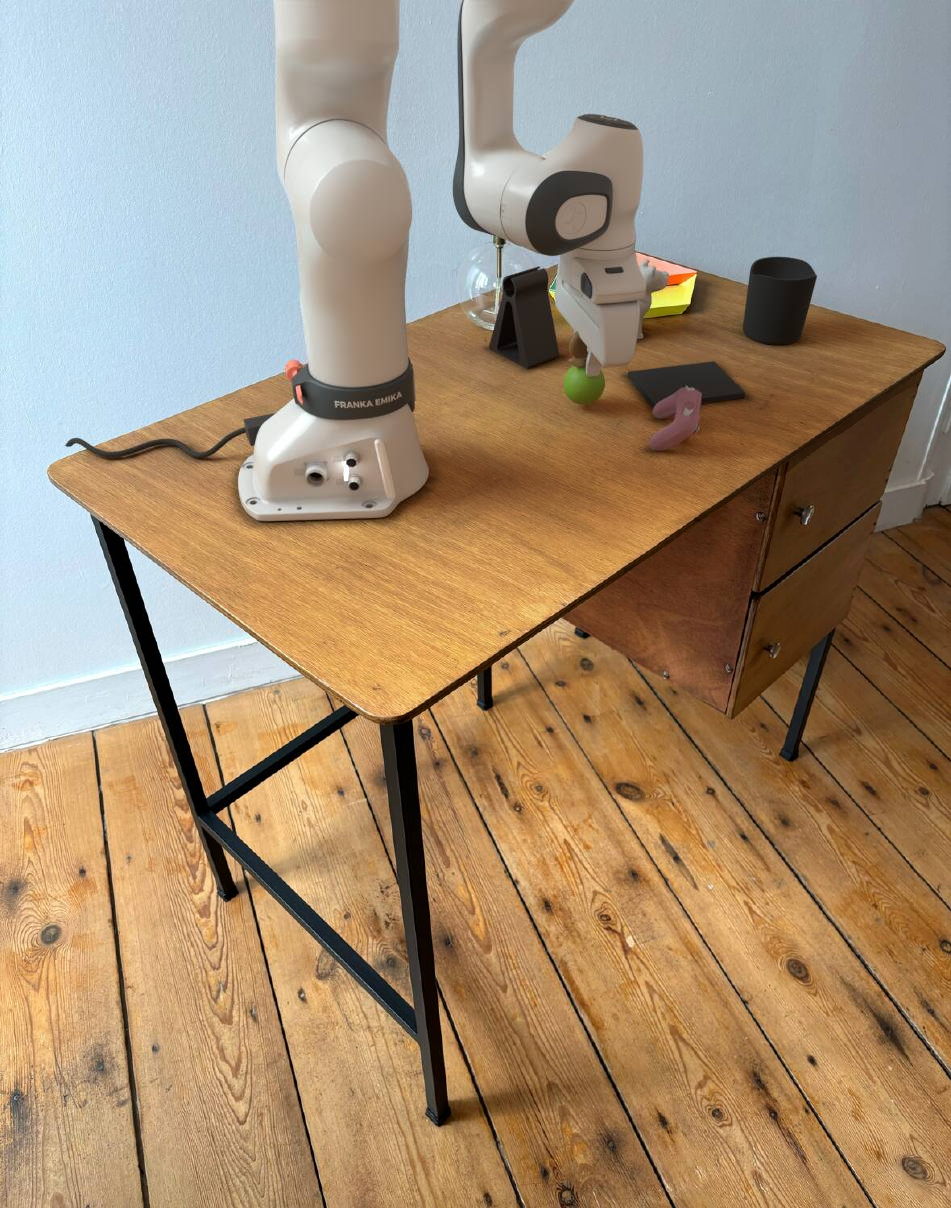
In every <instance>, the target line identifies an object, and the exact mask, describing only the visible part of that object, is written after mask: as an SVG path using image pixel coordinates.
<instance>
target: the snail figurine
mask: <svg viewBox="0 0 951 1208" xmlns="http://www.w3.org/2000/svg"><path fill="white" fill-rule="evenodd" d="M568 351H569V354H570V355H571V356H572V357H573V358H569V359H568V362H569V364H570V365H572V366H571V367H569V369H568V370H567V371H566V372H565V374H564V377H563V382H562V386H563V390H564V394H565V395H566V396H567V397H566V398H568V399H569V400H570V401H571V402H572V403H574V404H578V405H581V406H586V405H587V406H588V405H590V404H594V403H595V402H596V401H598V400H599V399H600V398H601V396H602V395H603V393H604V391H605V388H606V379H605V375H604V373H603V371H602V370H601V369H600V374H599V375H598V376H594V377H588V376H587V375H586V373H585V371H584V360H587V357H588V351H587V346H586V345H585V343H584V342H583V341H582V340H581V338H580V336H579V333H578V331H576V332H575V333H574V332H573V334H572V336H571V338H570V339H569V343H568Z"/></svg>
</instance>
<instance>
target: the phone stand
mask: <svg viewBox="0 0 951 1208" xmlns="http://www.w3.org/2000/svg"><path fill="white" fill-rule="evenodd" d="M549 279H550V278H549V274H548V271H547V270H546V268H545V267H543V268H541V266H539V265H538V266H535V267H532V268H528V269H526V270H522V271H518V272H515V273H513V274H508V275H505V276H504V277H503V278H502V282H501V284H502V285H501V287H502V295H501V300H500V304H499V307H498V311H497V314H496V318H495V322H494V326H493V329H492V333H491V337H490V341H489V345H488V348H489V349H490V351H493V352H494V353H497V354H499V355H500V356H502V357H504V358H506V359H508V360H510V361H511V362H514V363H515V364H517V365H519V366H521V367H523V368H525V369H530V368H533V367H536V366H539V365H541V364H544V363H546V362H549V361H552V360H555V359H557V358H559V357H560V349H559V345H558V339H557V334H556V329H555V323H554V317H553V311H552V307H551V301H550V296H549Z"/></svg>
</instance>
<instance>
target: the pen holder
mask: <svg viewBox="0 0 951 1208" xmlns="http://www.w3.org/2000/svg"><path fill="white" fill-rule="evenodd" d="M817 278H818V275H817V273H816V272H815V270H814V268H813V267H812V265H811V264H810V263H809V262H807V261H805V260H803V259H800V258H795V257H788V256H767V257H761V258H759V259H758V258H757V259H756V260H755V261H753V263H751V266H750V269H749V275H748V282H747V283H748V284H747V291H746V297H745V298H746V299H745V307H744V313H743V314H744V315H743V325H742V331H743V334H744V335H745V336H746V337H747V338H748V339H750V340H752V341H754V342H757V343H760V344H764V345H765V344H766V345H770V346H771V345H772V346H784V345H790V344H793V343H795V342H797V341H798V340H799V339H800V338H801V337H802V335H803V331H804V328H805V323H806V322H807V321H806V320H807V317H808V313H809V309H810V305H811V302H812V297H813V293H814V290H815V286H816V282H817Z"/></svg>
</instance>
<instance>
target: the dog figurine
mask: <svg viewBox="0 0 951 1208" xmlns="http://www.w3.org/2000/svg"><path fill="white" fill-rule="evenodd" d="M650 261H651V260H650V259H647V258H644V259H643V260H642V261H641V263H640V264H638V266H639V269H640V271H641V273H642V276H643V278H644V280H645V282H646V294H645V298H644V299H642V300H638V303H639V307H640V319H639V328H638V335H637V340H640V339H644V334H643V332H642V331H643V329H642V328H643V320H644V317H645V316H646V315H647V313H648V312H649V311H650V310H651V307H652V303H653V302H652V301H653V298H652V297H653V296H652V294H653V293H657V292H660V291H663V290H664V289H665V288H667V286H668V284H669V278H670V274H669V272H668V271H666V270H664V271H661V270H658V269H657V267H656V265H649V263H650Z"/></svg>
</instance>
